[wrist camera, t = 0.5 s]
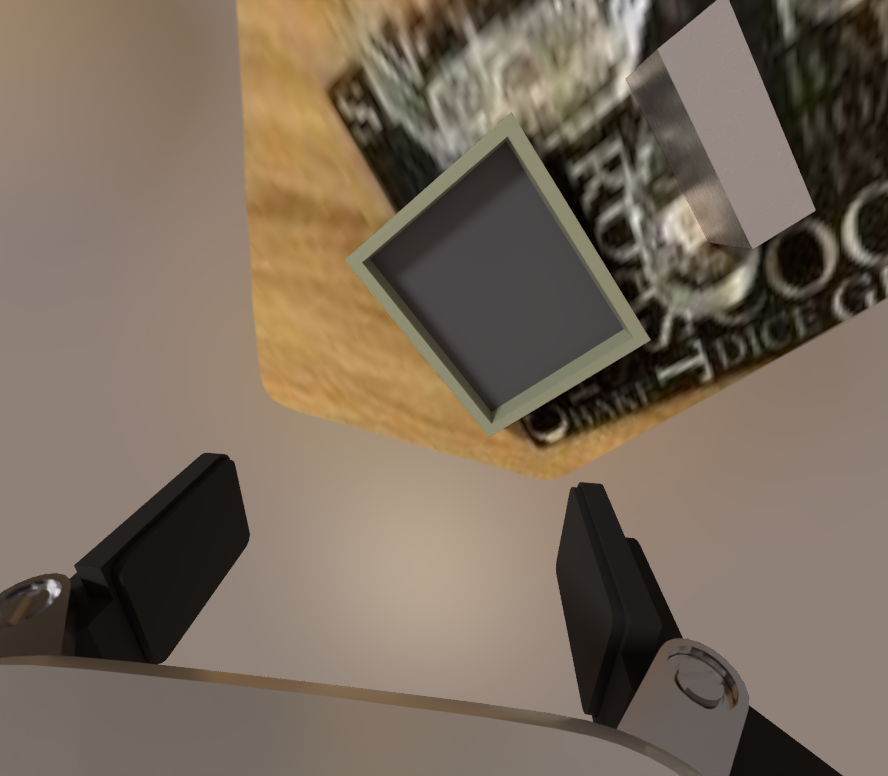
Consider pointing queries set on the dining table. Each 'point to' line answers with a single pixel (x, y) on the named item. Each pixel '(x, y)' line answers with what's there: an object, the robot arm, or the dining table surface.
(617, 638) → the robot arm
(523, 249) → the case
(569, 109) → the dining table surface
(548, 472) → the dining table surface
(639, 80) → the bar
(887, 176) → the dining table surface
